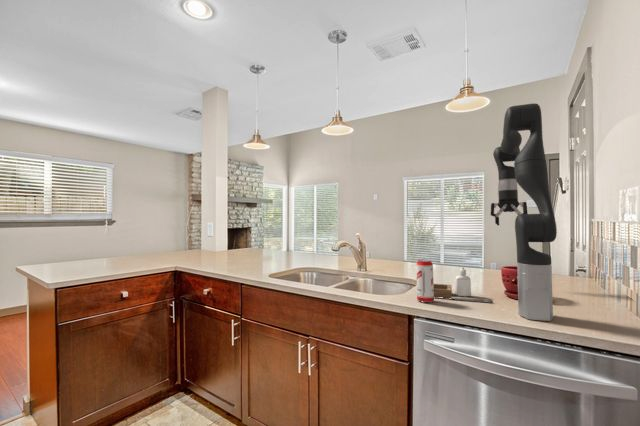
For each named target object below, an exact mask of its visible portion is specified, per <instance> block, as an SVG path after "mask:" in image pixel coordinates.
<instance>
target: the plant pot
mask: <svg viewBox="0 0 640 426" xmlns="http://www.w3.org/2000/svg"><path fill="white" fill-rule="evenodd" d="M500 271H501V272H500V273H501V282H502V284H503V287H504V288H505V290H503V294H504V295H505V296H506V297H508V298H511V299H515V300H518V274H517V266H516V265H515V266H514V265H510V266H509V265H508V266H507V265H506V266H501V268H500Z"/></svg>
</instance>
